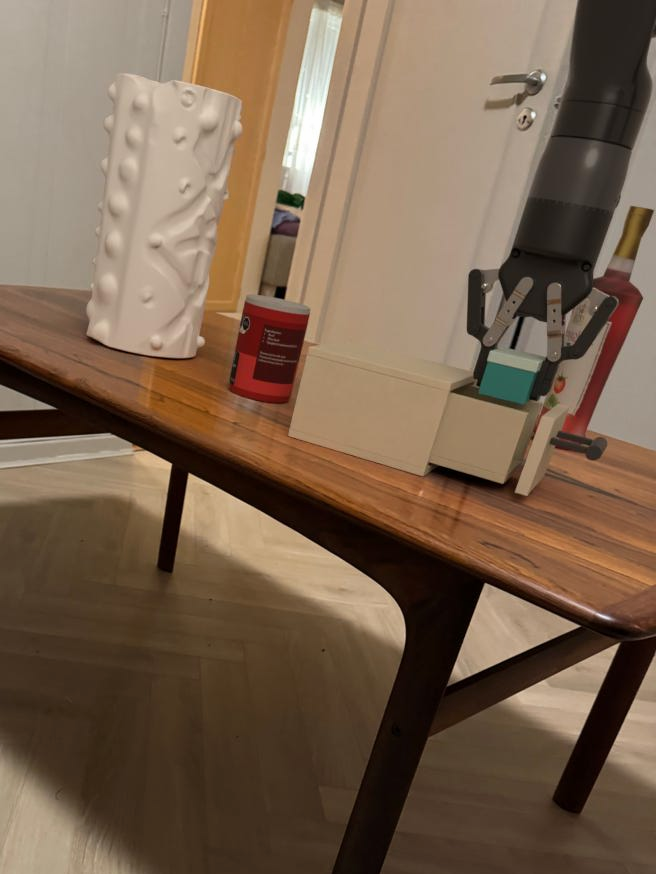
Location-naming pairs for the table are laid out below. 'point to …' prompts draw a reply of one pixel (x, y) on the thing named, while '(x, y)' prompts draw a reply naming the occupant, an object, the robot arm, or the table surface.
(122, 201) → the vase
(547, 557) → the table surface
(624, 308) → the liquor
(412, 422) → the cabinet
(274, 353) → the canned food
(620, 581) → the table surface
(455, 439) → the drawer
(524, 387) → the small lidded box
